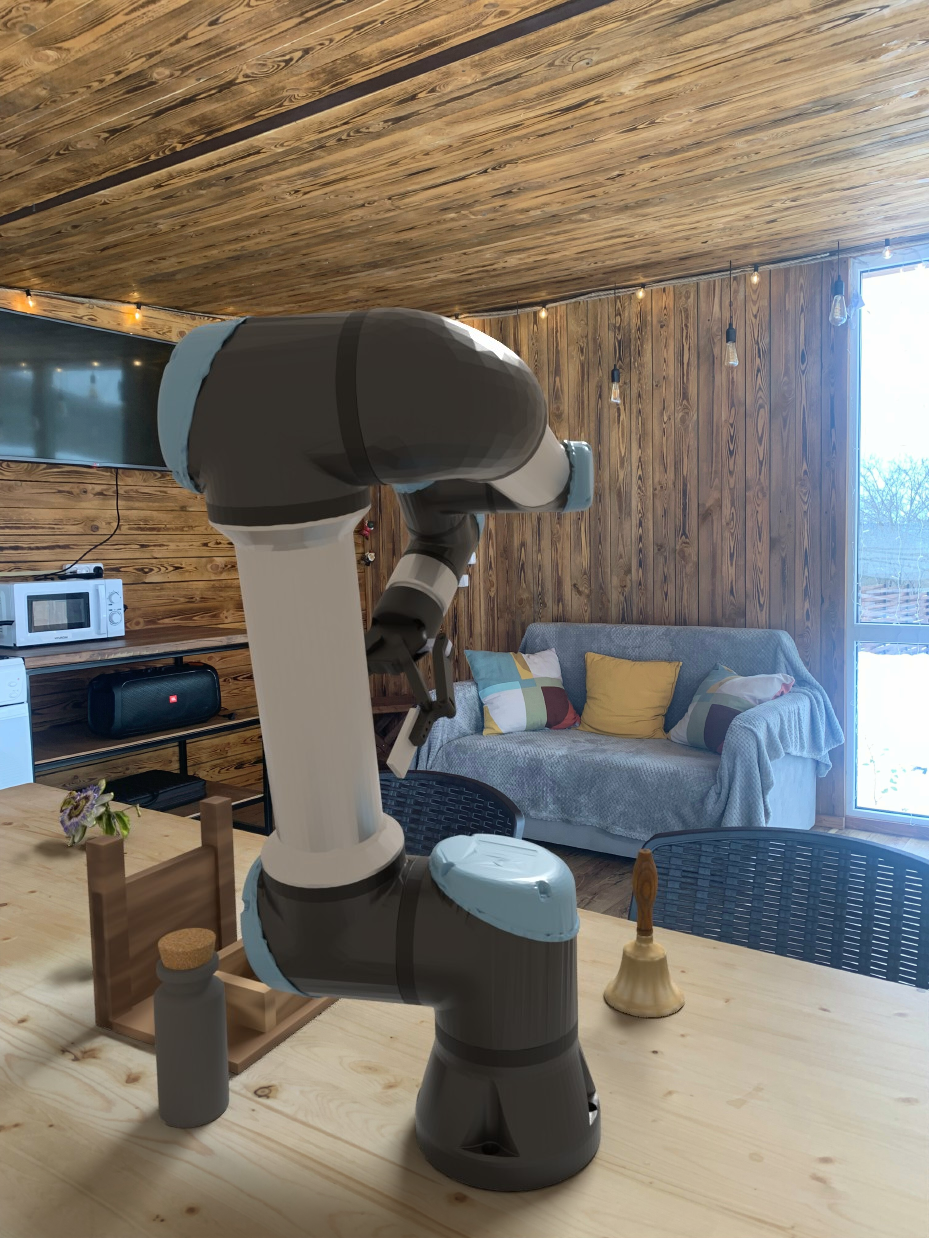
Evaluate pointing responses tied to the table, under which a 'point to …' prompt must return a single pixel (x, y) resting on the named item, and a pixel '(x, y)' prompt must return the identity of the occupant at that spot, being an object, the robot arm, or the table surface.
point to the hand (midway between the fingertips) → (338, 764)
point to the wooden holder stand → (169, 902)
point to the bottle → (190, 1030)
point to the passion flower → (92, 814)
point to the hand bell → (644, 956)
